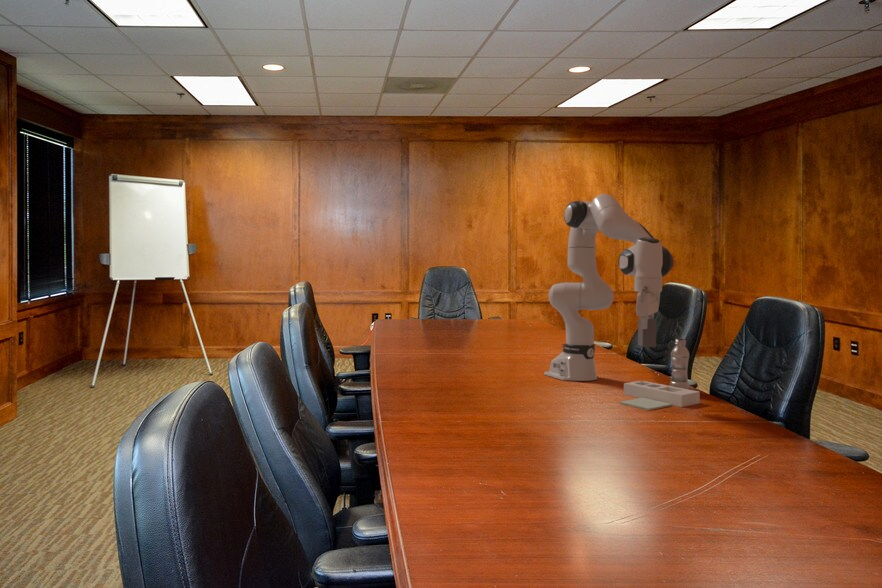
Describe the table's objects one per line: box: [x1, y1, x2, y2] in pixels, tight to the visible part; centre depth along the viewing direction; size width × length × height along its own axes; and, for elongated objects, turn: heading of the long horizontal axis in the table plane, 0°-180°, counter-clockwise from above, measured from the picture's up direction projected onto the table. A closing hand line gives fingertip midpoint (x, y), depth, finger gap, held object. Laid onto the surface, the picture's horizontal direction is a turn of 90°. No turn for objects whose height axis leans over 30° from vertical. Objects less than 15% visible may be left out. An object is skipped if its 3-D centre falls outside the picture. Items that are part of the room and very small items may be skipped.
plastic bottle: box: [669, 338, 690, 390], centre depth 239 cm, size 6×7×20 cm
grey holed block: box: [623, 380, 701, 408], centre depth 232 cm, size 24×10×4 cm, turn 35°
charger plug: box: [637, 318, 658, 348], centre depth 221 cm, size 5×4×9 cm
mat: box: [619, 397, 673, 411], centre depth 222 cm, size 12×12×1 cm
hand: (647, 327), depth 221 cm, fingers closed on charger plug, 6 cm apart
